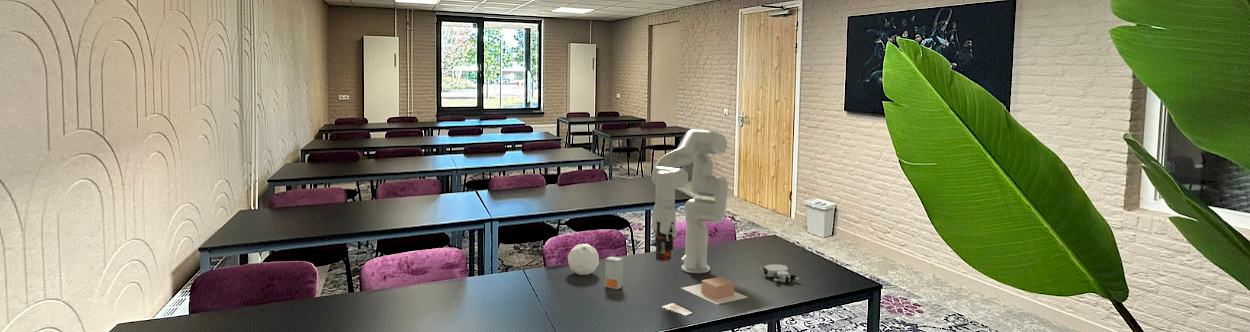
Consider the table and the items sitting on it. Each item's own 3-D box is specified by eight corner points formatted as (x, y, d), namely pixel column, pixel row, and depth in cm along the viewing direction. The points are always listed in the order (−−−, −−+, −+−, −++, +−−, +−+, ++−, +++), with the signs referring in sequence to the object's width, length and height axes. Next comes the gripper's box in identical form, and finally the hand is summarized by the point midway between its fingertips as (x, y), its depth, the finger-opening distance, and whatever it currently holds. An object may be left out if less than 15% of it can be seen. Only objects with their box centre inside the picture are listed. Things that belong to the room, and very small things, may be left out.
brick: (701, 292, 286) (701, 280, 285) (718, 288, 291) (719, 276, 290) (716, 299, 279) (716, 286, 278) (733, 295, 284) (734, 283, 283)
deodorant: (658, 261, 279) (659, 223, 276) (653, 257, 284) (654, 219, 282) (673, 260, 280) (674, 222, 278) (668, 256, 286) (669, 219, 283)
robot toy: (800, 285, 304) (783, 272, 318) (801, 275, 303) (784, 262, 317) (773, 287, 301) (758, 274, 315) (774, 277, 300) (759, 264, 314)
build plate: (680, 290, 291) (680, 287, 291) (711, 284, 300) (711, 281, 300) (716, 307, 273) (716, 304, 273) (748, 299, 282) (748, 297, 282)
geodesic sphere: (607, 266, 302) (600, 236, 308) (575, 269, 297) (569, 238, 303) (597, 278, 314) (591, 248, 320) (567, 281, 309) (561, 251, 315)
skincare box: (604, 287, 293) (605, 258, 291) (609, 284, 297) (610, 255, 295) (617, 289, 290) (618, 260, 288) (622, 286, 294) (623, 258, 292)
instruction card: (661, 307, 271) (661, 306, 271) (677, 302, 277) (677, 301, 277) (685, 316, 263) (685, 315, 263) (701, 310, 269) (701, 309, 269)
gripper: (644, 199, 284) (643, 244, 287) (670, 208, 269) (669, 255, 272) (659, 197, 288) (658, 241, 291) (686, 206, 273) (685, 252, 276)
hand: (663, 247), depth 281 cm, fingers closed on deodorant, 5 cm apart
